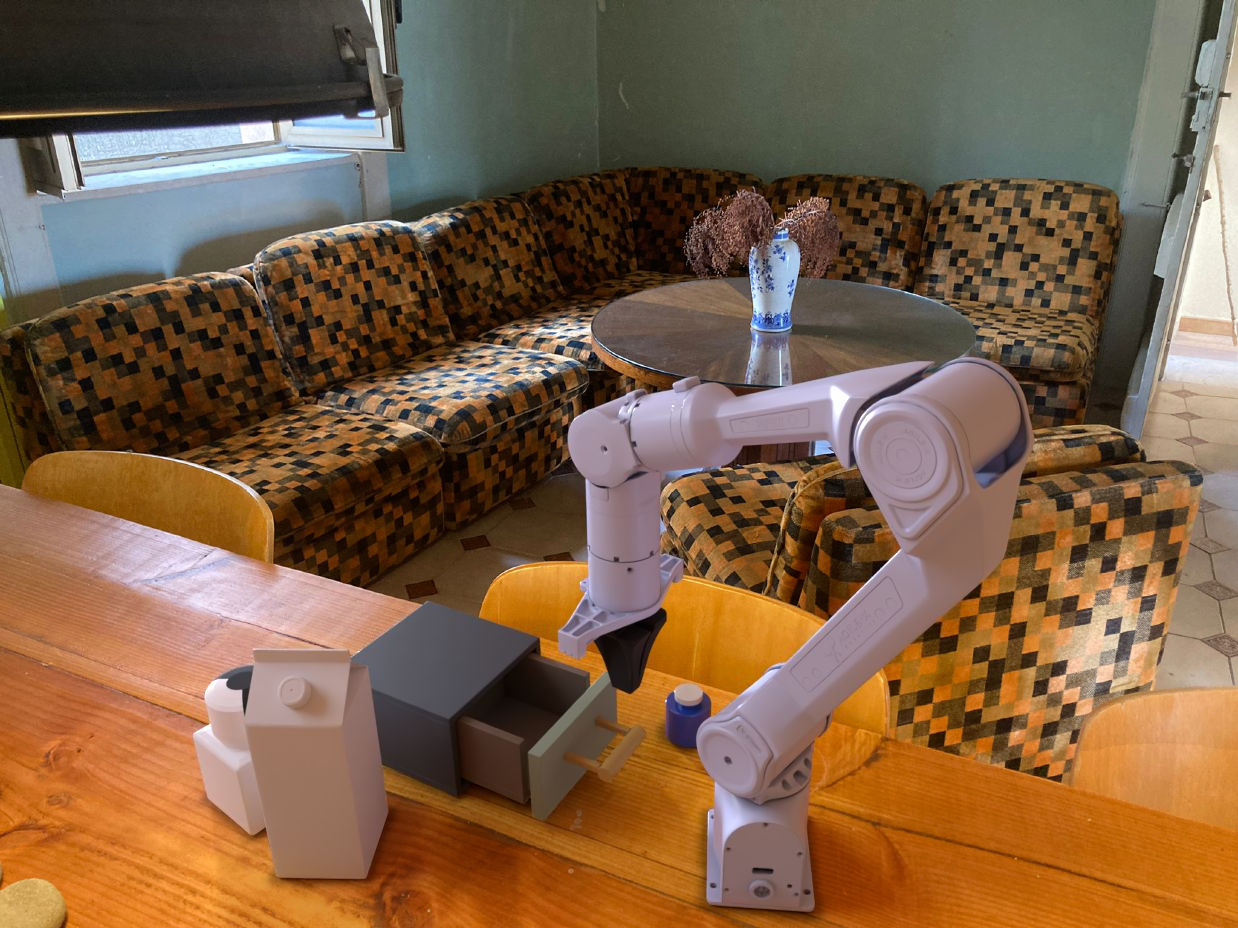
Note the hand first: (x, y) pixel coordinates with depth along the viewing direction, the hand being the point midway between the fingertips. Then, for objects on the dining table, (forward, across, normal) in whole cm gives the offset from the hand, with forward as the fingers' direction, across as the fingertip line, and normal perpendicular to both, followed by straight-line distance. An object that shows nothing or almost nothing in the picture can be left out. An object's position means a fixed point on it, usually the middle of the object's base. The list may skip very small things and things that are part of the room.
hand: (625, 686), depth 81 cm
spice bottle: (+9, -8, +2) cm, 12 cm away
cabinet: (+9, +5, -18) cm, 20 cm away
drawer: (+9, +4, -6) cm, 11 cm away
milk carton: (+10, +20, -14) cm, 27 cm away
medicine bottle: (+10, +20, -24) cm, 33 cm away
